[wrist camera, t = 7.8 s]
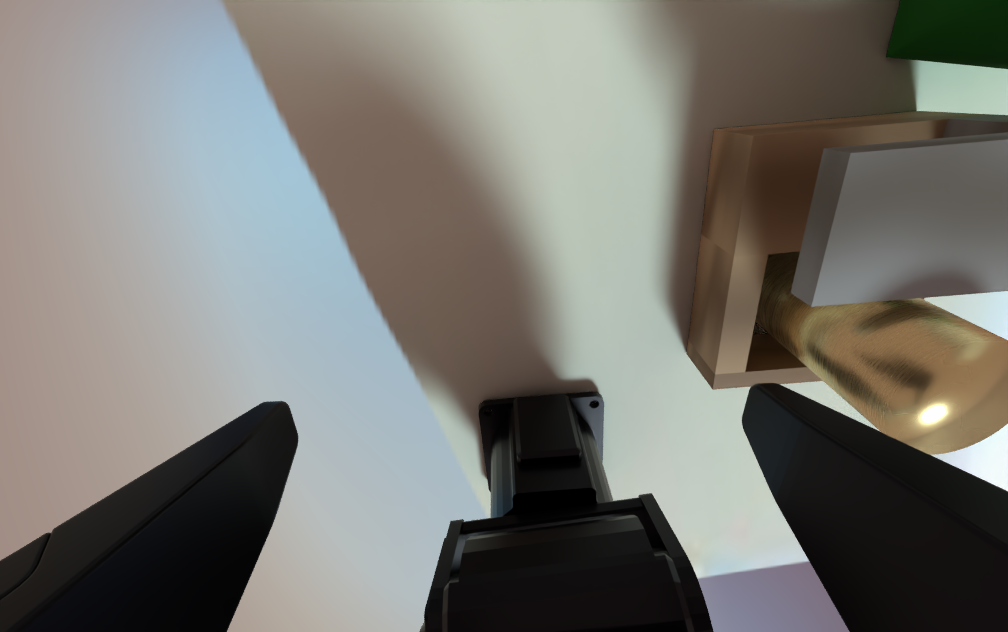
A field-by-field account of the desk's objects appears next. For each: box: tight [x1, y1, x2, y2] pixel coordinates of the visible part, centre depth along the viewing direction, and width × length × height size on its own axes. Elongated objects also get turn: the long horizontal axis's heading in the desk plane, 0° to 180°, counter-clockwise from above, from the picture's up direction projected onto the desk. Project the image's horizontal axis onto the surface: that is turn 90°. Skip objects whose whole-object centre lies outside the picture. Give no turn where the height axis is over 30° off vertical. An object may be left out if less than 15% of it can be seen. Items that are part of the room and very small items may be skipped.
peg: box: [755, 251, 1008, 455], centre depth 17 cm, size 4×4×9 cm
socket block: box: [687, 111, 1008, 389], centre depth 17 cm, size 10×8×8 cm
